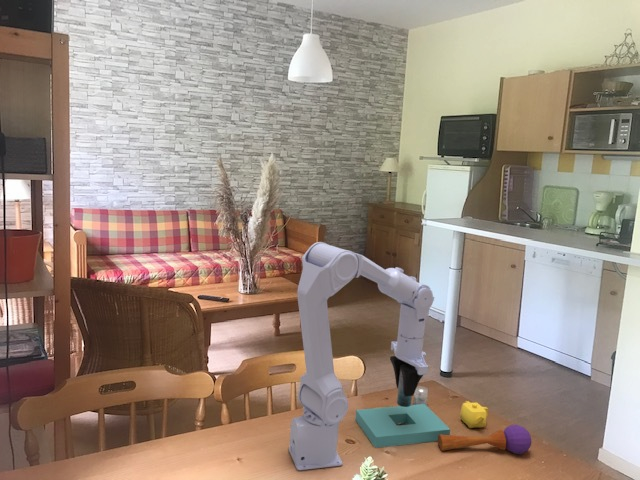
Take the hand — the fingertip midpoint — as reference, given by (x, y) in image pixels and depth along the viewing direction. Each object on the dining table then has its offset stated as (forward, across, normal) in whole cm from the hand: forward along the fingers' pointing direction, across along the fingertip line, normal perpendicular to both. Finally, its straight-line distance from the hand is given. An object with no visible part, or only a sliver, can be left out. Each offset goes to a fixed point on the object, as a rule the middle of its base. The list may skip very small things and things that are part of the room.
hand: (405, 391), depth 119 cm
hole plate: (+9, 0, 0) cm, 9 cm away
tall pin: (+3, 0, 0) cm, 3 cm away
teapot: (+10, -1, -19) cm, 21 cm away
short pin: (+9, +10, -10) cm, 17 cm away
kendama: (+10, -11, -15) cm, 21 cm away
